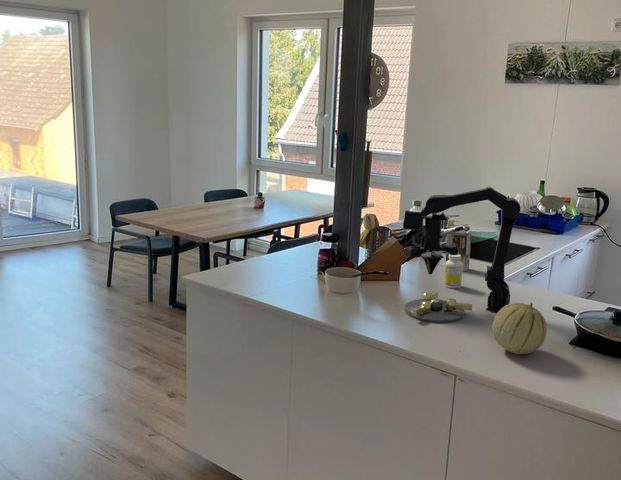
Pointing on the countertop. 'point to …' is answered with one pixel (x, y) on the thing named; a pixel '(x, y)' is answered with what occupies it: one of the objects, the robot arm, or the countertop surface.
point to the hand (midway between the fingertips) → (429, 274)
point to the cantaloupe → (519, 328)
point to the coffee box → (460, 246)
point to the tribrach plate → (434, 312)
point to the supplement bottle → (453, 272)
